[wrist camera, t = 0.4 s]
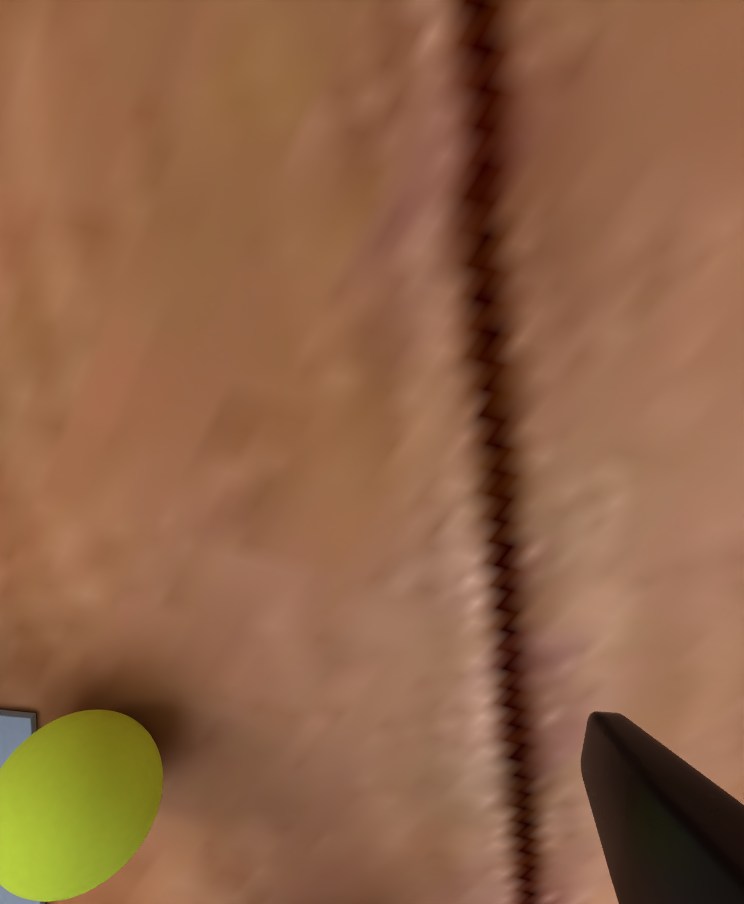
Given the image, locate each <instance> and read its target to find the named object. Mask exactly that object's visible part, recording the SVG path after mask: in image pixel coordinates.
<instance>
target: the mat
mask: <svg viewBox="0 0 744 904" xmlns="http://www.w3.org/2000/svg"><path fill="white" fill-rule="evenodd" d="M36 731H37V726H36V713H31V712H20V711H10V710H0V768H1V767H2V765H3V764H4V763H5V761H6V760H7V759H8V758H9V756H10V755H11V754H12V753H13V751H14V750H15V749H16V748H17V747H18V746H19V745H20V744H22V743H23V742H24V741H25V740H26V739H27V738H28V737H29V736H30V735H32V734H33V733H34V732H36ZM0 904H45V902H42V901H34V900H28V899H25V898H21V897H19V896H16V895H14V894H12V893H11V892H9V891H7V890H6V889H5V888H3V887H2V886H1V885H0Z"/></svg>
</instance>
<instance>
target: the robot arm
mask: <svg viewBox="0 0 744 904" xmlns="http://www.w3.org/2000/svg"><path fill="white" fill-rule="evenodd" d="M581 771H582V777H583V781H584V784H585V788H586V791H587V795H588V798H589V802H590V805H591V809H592V813H593V816H594V820H595V823H596V827H597V830H598V834H599V837H600V841H601V844H602V848H603V851H604V855H605V858H606V862H607V865H608V869H609V872H610V876H611V879H612V883H613V886H614V889H615V892H616V896H617V899H618V902H619V904H744V805H743V804H742V803H740V802H739V801H738V800H736V799H735V798H734V797H732V796H731V795H730V794H728V793H727V792H726V791H724V790H723V789H721V788H720V787H719V786H717V785H716V784H715V783H713V782H712V781H711V780H709V779H708V778H707V777H705V776H704V775H703V774H701V773H700V772H699V771H697V770H696V769H695V768H693V767H692V766H691V765H689V764H688V763H687V762H685V761H684V760H683V759H681V758H680V757H679V756H677V755H676V754H675V753H673V752H672V751H671V750H669V749H668V748H666V747H665V746H664V745H662V744H661V743H660V742H658V741H657V740H656V739H654V738H653V737H652V736H650V735H649V734H648V733H646V732H645V731H644V730H642V729H641V728H640V727H638V726H637V725H636V724H634V723H633V722H632V721H630V720H629V719H628V718H626V717H625V716H623V715H622V714H619V713H611V712H593V713H591V714H590V716H589V718H588V721H587V727H586V732H585V738H584V744H583V750H582V755H581Z"/></svg>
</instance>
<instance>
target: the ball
mask: <svg viewBox="0 0 744 904" xmlns="http://www.w3.org/2000/svg"><path fill="white" fill-rule="evenodd" d="M162 788H163V768H162V761H161V757H160V754H159V751H158V748H157V745H156V744H155V742H154V740H153V738H152V737H151V735H150V734H149V733H148V731H147V730H146V729H145V728H144V727H143V726H142V725H141V724H140V723H138V722H137V721H136V720H134V719H133V718H131V717H129V716H127V715H124V714H122V713H119V712H115V711H109V710H100V709H94V710H85V711H79V712H74V713H72V714H69V715H66V716H63V717H60V718H58V719H56V720H54V721H52V722H50V723H48V724H46V725H44V726H43V727H41V728H40V729H39V730H37V731H36V732H34V733H33V734H32V735H30V736H29V737H28V738H27V739H26V740H25V741H24V742H23V743H22V744H20V745H19V746H18V747H17V748H16V749H15V750H14V751H13V753H12V754H11V755H10V756H9V758H8V759H7V760H6V761H5V763H4V764H3V765H2V767H1V768H0V885H1V886H2V887H3V888H5V889H6V890H7V891H9V892H11V893H12V894H14V895H16V896H19V897H21V898H25V899H28V900H34V901H42V902H49V901H58V900H64V899H68V898H72V897H75V896H77V895H80V894H83V893H85V892H87V891H89V890H91V889H93V888H95V887H96V886H98V885H100V884H101V883H103V882H105V881H106V880H107V879H109V878H110V877H111V876H112V875H114V874H115V873H116V872H117V871H118V870H120V869H121V868H122V867H123V866H124V865H125V864H126V863H127V862H128V861H129V859H130V858H131V857H132V856H133V855H134V854H135V852H136V851H137V850H138V848H139V847H140V846H141V844H142V842H143V841H144V839H145V838H146V836H147V834H148V832H149V831H150V829H151V826H152V824H153V822H154V819H155V817H156V814H157V812H158V808H159V804H160V800H161V796H162Z"/></svg>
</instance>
